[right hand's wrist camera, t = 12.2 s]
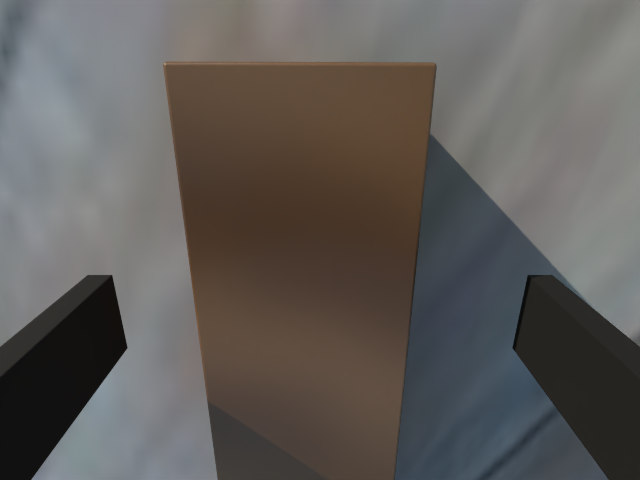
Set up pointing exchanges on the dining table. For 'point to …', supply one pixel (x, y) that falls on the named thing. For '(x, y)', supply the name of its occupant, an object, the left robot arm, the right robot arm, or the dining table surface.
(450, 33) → the dining table surface
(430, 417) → the dining table surface
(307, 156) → the beam
